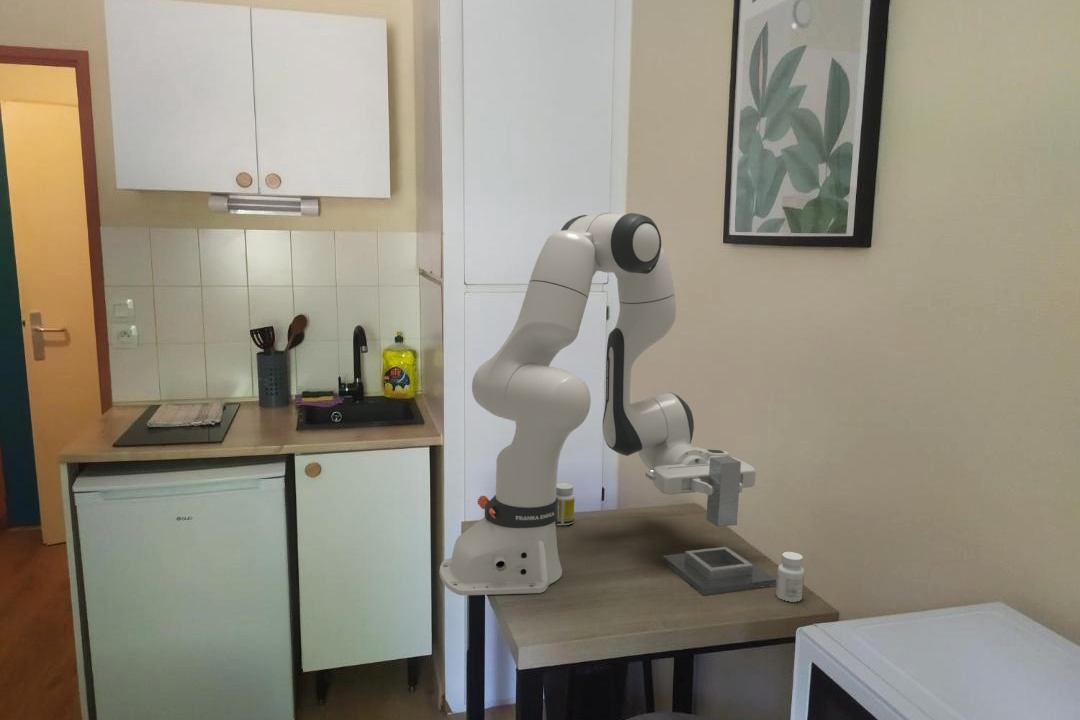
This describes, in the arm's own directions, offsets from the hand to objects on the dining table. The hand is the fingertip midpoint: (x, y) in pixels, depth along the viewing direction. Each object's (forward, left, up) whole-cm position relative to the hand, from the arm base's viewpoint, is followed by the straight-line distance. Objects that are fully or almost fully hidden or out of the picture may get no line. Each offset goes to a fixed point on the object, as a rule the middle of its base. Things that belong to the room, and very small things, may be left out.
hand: (726, 490), depth 139 cm
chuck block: (0, +1, -16) cm, 17 cm away
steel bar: (0, +1, -6) cm, 7 cm away
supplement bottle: (-19, +33, -17) cm, 42 cm away
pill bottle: (+7, -11, -17) cm, 21 cm away
